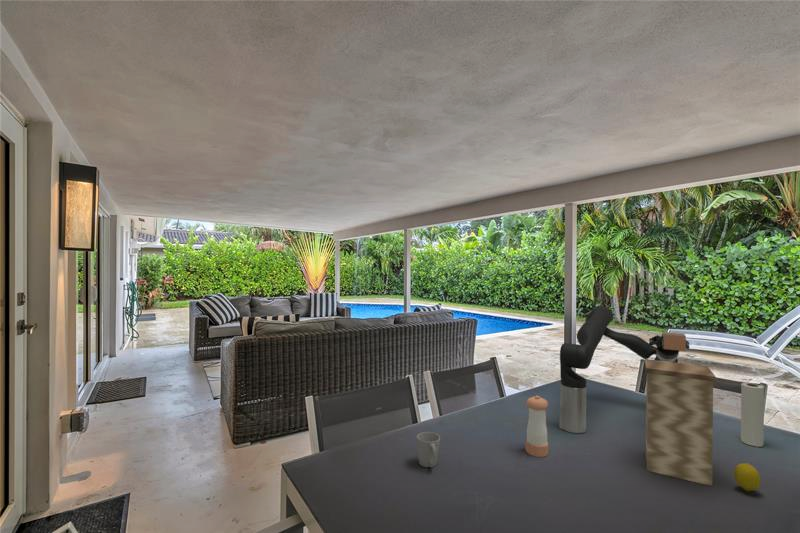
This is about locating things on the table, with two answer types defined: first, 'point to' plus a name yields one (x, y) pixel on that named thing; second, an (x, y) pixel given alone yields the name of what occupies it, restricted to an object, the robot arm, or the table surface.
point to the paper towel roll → (752, 414)
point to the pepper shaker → (537, 427)
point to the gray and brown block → (674, 341)
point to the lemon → (747, 477)
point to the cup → (428, 448)
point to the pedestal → (679, 420)
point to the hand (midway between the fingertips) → (670, 334)
